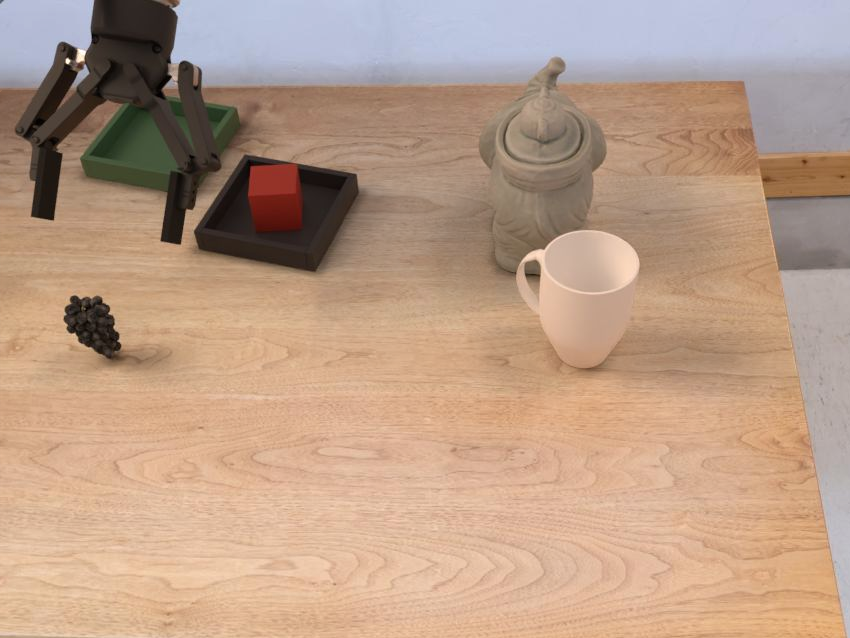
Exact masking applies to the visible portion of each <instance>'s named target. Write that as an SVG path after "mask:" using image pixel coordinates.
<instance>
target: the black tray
mask: <svg viewBox="0 0 850 638" xmlns="http://www.w3.org/2000/svg"><path fill="white" fill-rule="evenodd" d="M284 164H297V167H298V173H299V179H300V185H301V191H302V198H303V210H302V229H301V230H286V231H268V232H256V231H255V226H254V221H253V216H252V212H251V207H250V202H249V197H248V193H249V181H250V170H251V166H265V165H284ZM359 193H360V191H359V182H358V174H357V173H355V172H349V171H343V170H337V169H331V168H325V167H319V166H315V165H309V164H302V163H297V162H292V161H285V160H280V159H274V158H268V157H262V156H257V155H250V154H243V156H242V157H241V159H240V160H239V162H238V164H236V166H235V167H234V170H233V171H232V172H231V174H230V176H228V179H227V180H226V182H225V183H224V185H223V186H222V187H221V189H220V191H219V192H218V194H217V195H216V197H215V198H214V200H213V201H212V202H211V204H210V206H209V208H208V209H207V210H206V212H205V213H204V215H203V216H202V218H201V220H200V221H199V222H198V223H197V226H196V227H195V229H194V230H193V233H194V237H195V241H196V244H197V248H198V250H201V251H206V252H211V253H216V254H221V255H226V256H231V257H236V258H241V259H245V260H246V259H247V260H251V261H257V262H262V263H267V264H273V265H276V266H282V267H287V268H293V269H298V270H304V271H308V272H313V273H316V272H317V271H318V268H319V266H320V264H321V263H322V261H323V259H324V257H325V255H326V254H327V252H328V250H329V248H330V246H331V244H332V242H333V241H334V239H335V237H336V235H337V234H338V231H339V230H340V228H341V226H342V224H343V223H344V220H345V219H346V217H347V215H348V213H349V211H350V209H351V208H352V206H353V204H354V202H355V200H356V199H357V197H358V195H359Z"/></svg>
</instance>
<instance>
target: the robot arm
mask: <svg viewBox="0 0 850 638" xmlns="http://www.w3.org/2000/svg"><path fill="white" fill-rule="evenodd" d="M4 1H5V0H0V5H1V4H2V3H4ZM180 3H181V0H93V6H92V11H91V19H90V36H91V37H90V38H91V41H90V44H89V46H88V48H87V49H86V50H85V49H82V48H79V47H77V46H75V45H72V44H70V43H68V42H66V41H60V42H59V43H58V44H57V45H56V48H55V54H54V58H53V62H52V65H51V67H50V68H49V70H48V72H47V73H46V75H45V77H44V79H43V80H42V82H41V83H40V85H39V87H38V88H37V90H36V92H35V93H34V95H33V97H32V98H31V100H30V102H29V103H28V105H27V106H26V109H25V110H24V112H23V114H22V115H21V116H20V118H19V120H18V121H17V123H16V125H15V127H14V133H15V135H16V136H17V137H20V138H22V139H24V140H25V141H28V143H30V145H31V147H32V148H31V149H32V150H31V157H30V165H29V173H28V176H29V180H30V181H31V182H34V189H33V195H32V204H31V211H30V218H35V219H40V220H47V221H54V222H55V215H56V209H57V199H58V191H59V185H60V179H61V178H60V177H61V170H62V162H63V155H64V153H63V152H59V148H58V146H59V145H60V144H61V143H62V142H63V141H65V139H66V138H67V137H68V136H70V134H71V133H72V132H73V131H74V130H75V129H77V127H78V126H79V125H80V124H81V123H82V122H83V121H84V120H85V119H86V118H87V117H88V116H89V115H90V114H91V113H92V112H93V111H94V110H95V109H96V108H97V107H99V106H102V105H104V104H105V103H106V102H107V101H109V102H111V103H114V104H120V105H123V104H124V103H129V104H132V105H134V106H137V107H143V108H144V107H145V108H146V109H147V110H148V111H149V113H150V115H151V116H152V118H153V120H154V122H155V124H156V126H157V128H158V129H159V131H160V133H161V135H162V137H163V139H164V140H165V142H166V144H167V146H168V148H169V150H170V151H171V153H172V155H173V157H174V159H175V161H176V162H177V164H178V166H179V168H178V167H177V169H178V170H179V171H181V173H180V172H175V171H170V178H169V185H168V191H166V192H167V193H166V199H165V205H164V206H165V208H164V214H163V218H162V219H163V220H162V227H161V234H160V240H159V242H160V243H166V244H167V243H168V244H172V245H177V246H181V245H182V242H183V241H182V240H183V234H184V227H185V219H186V213H187V210H189V211H193V210H194V208H195V207H196V204H197V198H198V197H197V196H198V191H199V190H198V189H199V188H198V183H199V178H200V176H201V175H202V174H204V173H208V172H209V173H218V172H219V171H220V170H221V169H222V162H221V158H220V157H221V156H220V157H219V154H218V150H217V146H216V143H215V139H214V136H213V132H212V129H211V125H210V121H209V118H208V114H207V111H206V107H205V103H204V102H205V100H204V97H203V93H202V85H203V83H202V82H203V70H202V68H201V67H199V66H198V65H196V64H194V63H192V62H190V61H188V60H182V61H180V62H179V63H172V57H171V55H172V53H173V50H174V48H175V42H176V34H177V27H178V20H179V17H178V15H177V12H176V11H175V10H174V9H175V8H177V7H179V6H180ZM85 66H86V69H87V72H88V74H87V75H86V76H85V77H84V78H83V79H82V80H81V81H80V82H79V83H78V84H77V86H76V90H75V91H74V92H73V93H72V95H71V96H69V97H68V98H67V100H65V102H63V101H64V99H65V97H66V96H67V94H68V92H69V91H70V89H71V88H72V86H73V84H74V83H75V81H76V79H77V78H78V77H77V76H78V74H79V72H82V71H83V70H84V69H85ZM171 80H173V84H174V85H175V86H176V87H177V91H178V96H179V98H180V99H181V103H182V106H183V110H184V114H185V117H186V121H187V124H188V128H189V131H190V135H191V139H192V142H193V146H194V149H195V152H194V150H193V149H192V147H191V145H190V143H189V141H188V139H187V138H186V136H185V134H184V132H183V130H182V128H181V127H180V125H179V123H178V121H177V119H176V117H175V116H174V114H173V112H172V110H171V105H170V103H169V101H168V99H167V97H166V96H167V95H166V94H165V92H164V90H163V89H164V88H165V87H166V86H167V84H168V83H169V82H171ZM61 104H62V105H61ZM195 153H196V154H195ZM209 173H208V174H209Z"/></svg>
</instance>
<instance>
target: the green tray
mask: <svg viewBox="0 0 850 638" xmlns="http://www.w3.org/2000/svg"><path fill="white" fill-rule="evenodd" d="M166 97H167V99H168V101H169V103H170V105H171V110H172V112H173V114H174V116H175V117H176V119H177V121H178V123H179V125H180V127H181V128H182V130H183V132H184V134H185V136H186V138H187V139H188V141H189V143H190V145H191V147H192V149H193V150H194V152H195V149H194V146H193V142H192V139H191V135H190V131H189V128H188V124H187V121H186V117H185V114H184V110H183V106H182V103H181V99H180V97H176V96H171V95H166ZM204 103H205V107H206V111H207V114H208V118H209V121H210V125H211V129H212V132H213V136H214V139H215V143H216V146H217V150H218V154H219V157H221V156H222V154H223V152H224V151H225V150H226V148H227V147H228V145H229V144H230V142H232V139H233V138H234V137H235V135H236V134H237V132H238V130H239V129H240V128H241V125H242V124H241V121H240V116H239V111H238V107H235V106H230V105H225V104H218V103H212V102H206V101H204ZM195 154H196V153H195ZM79 161H80V164H81V166H82V169H83V172H84V174H85V177H87V178H93V179H99V180H103V181H108V182H113V183H120V184H125V185H130V186H134V187H135V186H136V187H141V188H146V189H151V190H158V191H164V192H168V185H169V178H170V171H175V172H180V173H181V171H179V170H178V169H177V167H178V168H179V166H178V164H177V162H176V161H175V159H174V157H173V155H172V153H171V151H170V150H169V148H168V146H167V144H166V142H165V140H164V139H163V137H162V135H161V133H160V131H159V129H158V128H157V126H156V124H155V122H154V120H153V118H152V116H151V115H150V113H149V111H148V110H147V109H146V108H145V107H144V108H143V107H137V106H134V105H132V104H129V103H124V104H121V106H120V107H119V108H118V110H117V111H116V112H115V113H114V114H113V116H112V117H111V118H110V119H109V121H108V122H107V123H106V125H105V126H104V127H103V129H102V130H101V131H100V132H99V134H97V135H96V137H95V138H94V139H93V140H92V142H91V143H90V145H88V147H87V148H86V150H85V151H84V152H83V153H82V154H81V156H80V157H79ZM209 173H210V172H208V173H204V174H202V175H201V176H200V178H199V183H198V189H200V187H201V185H202V183H203V182H204V180H205V179H206V178H207V176H208V174H209Z"/></svg>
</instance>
